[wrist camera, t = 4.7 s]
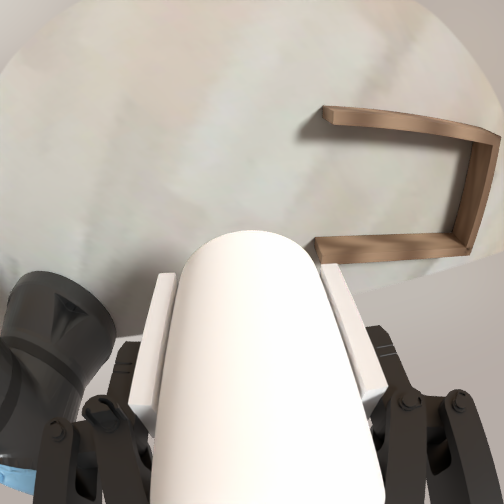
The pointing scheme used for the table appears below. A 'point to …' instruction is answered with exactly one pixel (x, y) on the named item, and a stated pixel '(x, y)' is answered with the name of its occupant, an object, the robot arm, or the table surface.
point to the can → (259, 385)
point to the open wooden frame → (424, 243)
